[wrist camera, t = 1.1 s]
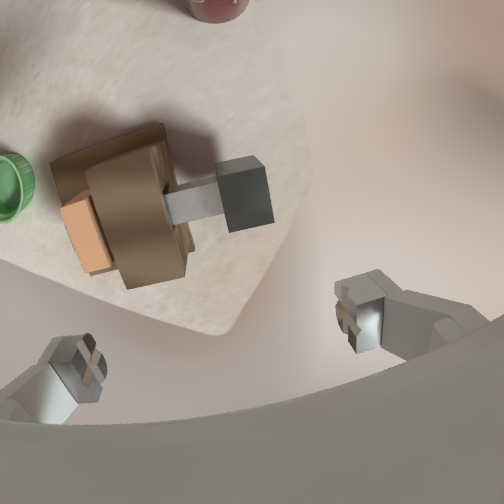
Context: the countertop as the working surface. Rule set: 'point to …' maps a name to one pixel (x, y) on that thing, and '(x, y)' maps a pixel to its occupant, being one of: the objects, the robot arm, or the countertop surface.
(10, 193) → the ramekin
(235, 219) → the shaft
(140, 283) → the shaft stand
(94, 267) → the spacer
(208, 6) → the soda can
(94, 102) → the countertop surface
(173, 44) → the countertop surface
